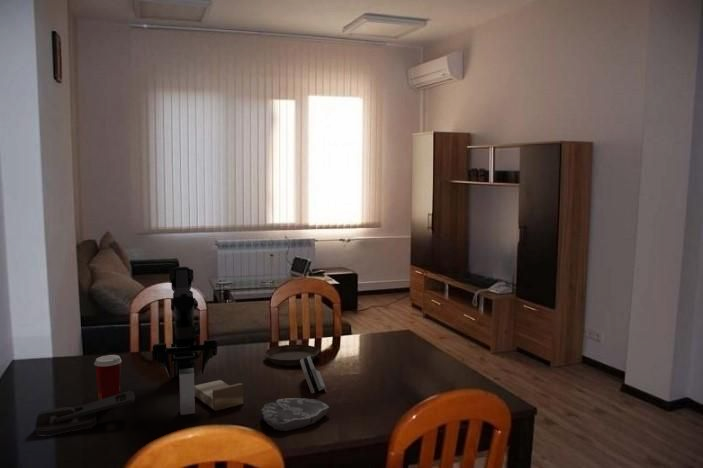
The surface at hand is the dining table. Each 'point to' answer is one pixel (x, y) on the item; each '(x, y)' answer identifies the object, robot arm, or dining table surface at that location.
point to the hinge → (315, 375)
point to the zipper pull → (76, 415)
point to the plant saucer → (291, 354)
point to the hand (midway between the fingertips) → (186, 375)
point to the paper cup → (108, 376)
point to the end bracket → (187, 391)
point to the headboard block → (219, 394)
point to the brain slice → (293, 413)
